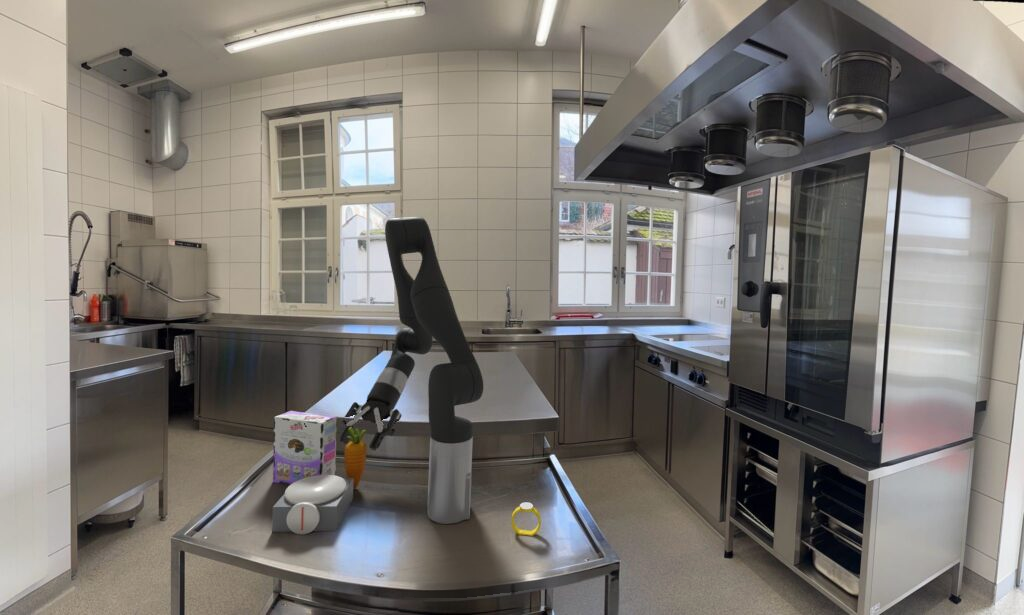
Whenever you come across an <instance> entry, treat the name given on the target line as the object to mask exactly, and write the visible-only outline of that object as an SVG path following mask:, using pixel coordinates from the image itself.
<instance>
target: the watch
mask: <svg viewBox="0 0 1024 615" xmlns="http://www.w3.org/2000/svg"><path fill="white" fill-rule="evenodd" d="M520 512H523V513H531V512H532V513H533V514H534V515H536V516H535V517H537V519H538V523H537V525H536V527H535V528H534V529H532V530H528V529H527V530H526V529H519V527H517V525H516V524H515V523H516V522H515V516H516V515H517V513H520ZM541 519H542V518H541V514H540V512H539V511H538V509H536V507H534V505H533V504H532V503H531V502H522V503H520V504H519V506H517V507H516V508H515V509H514V511H513V512H512V515H511V520H510V524H511V527H512V529H513V532H515V533H516V534H517V535H518V536H519V535H521V536H528V537H529V536H530V537H534V535H536V534H537V533H538V532H539V531H540V529H541V523H542V520H541Z"/></svg>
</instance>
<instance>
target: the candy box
mask: <svg viewBox="0 0 1024 615" xmlns="http://www.w3.org/2000/svg"><path fill="white" fill-rule="evenodd" d="M304 423H305V425H306V426H307V427H305V425H304ZM337 426H338V416H336V415H326V414H319V413H312V412H303V411H295V410H289V411H286V412H284V413H281V414H279V415H276V416H273V468H272V470H273V472H272V475H273V476H272V477H273V478H272V481H273V483H276V484H283V485H288V486H290V485H291V484H292V483H294V482H295V481H296V480H297V479H298V478H307V477H311V476H316V475H335V476H336V467H337V466H336V465H337V464H336V463H337V461H336V460H337V435H338V434H337V432H338V431H337V430H338V427H337Z"/></svg>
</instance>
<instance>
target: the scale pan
mask: <svg viewBox="0 0 1024 615" xmlns="http://www.w3.org/2000/svg"><path fill="white" fill-rule="evenodd" d="M343 478H344V477H341V476H338V475H336V474H335V475H316V476H311V477H307V478H303V479H301V480H298V481H296V482H294V483H292V484H291V485H288V487H287V488H285V491H284V494H285V499H286V501H287V502H289V503H291V504H294V505H296V504H298V503H302V502H307V503H311V504H313V505H317V504H322V503H325V502H328V501H331V500H333V499H335V498H337V497H339V496H340V495H341V494H342V493H343V492H344V491H345V489H346V482H345V480H344V479H343Z"/></svg>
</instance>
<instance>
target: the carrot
mask: <svg viewBox="0 0 1024 615" xmlns="http://www.w3.org/2000/svg"><path fill="white" fill-rule="evenodd" d="M348 430H349V432H350V434H351V435H352V436H348V438H349V439H350V440H349V441H348V443H347V444H345V446H344V456H343V457H344V468H345V475H346V478H353V490H354V489H356V488H357V487H358V485H359V484H360V482H361V481H362V477H363V475H364V470H365V466H366V462H367V461H366V460H367V447H368V446H367V444H366V443H365V442H364V441H363V440H362V439H363V436H365V434H366V432H367V431H366V429H363V430H361V431H360V429H359V428H356V429H355V430H353V428H352V427H350V428H349V429H348Z"/></svg>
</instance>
